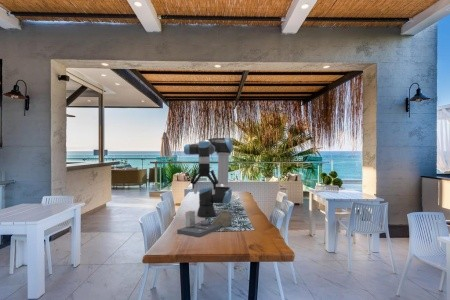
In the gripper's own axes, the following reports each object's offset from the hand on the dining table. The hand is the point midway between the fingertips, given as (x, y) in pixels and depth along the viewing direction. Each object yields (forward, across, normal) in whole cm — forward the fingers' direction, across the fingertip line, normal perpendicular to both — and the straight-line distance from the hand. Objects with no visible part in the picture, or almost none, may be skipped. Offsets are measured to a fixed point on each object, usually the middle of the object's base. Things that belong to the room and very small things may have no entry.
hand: (204, 193), depth 228 cm
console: (+24, 0, -7) cm, 25 cm away
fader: (+21, -7, -8) cm, 24 cm away
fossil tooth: (+24, +9, +11) cm, 28 cm away
